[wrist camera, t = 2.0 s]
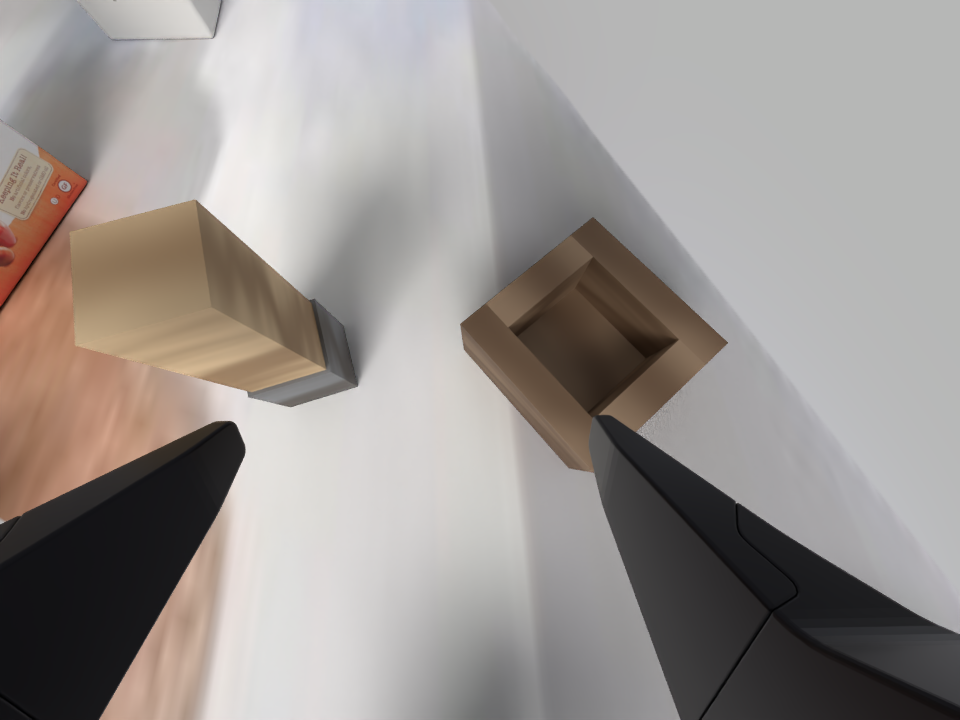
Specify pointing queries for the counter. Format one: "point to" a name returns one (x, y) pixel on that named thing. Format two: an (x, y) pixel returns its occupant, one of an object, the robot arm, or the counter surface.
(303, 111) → the counter surface
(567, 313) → the post slot block
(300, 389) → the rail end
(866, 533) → the counter surface
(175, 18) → the tall white carton
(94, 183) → the counter surface
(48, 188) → the cracker box
